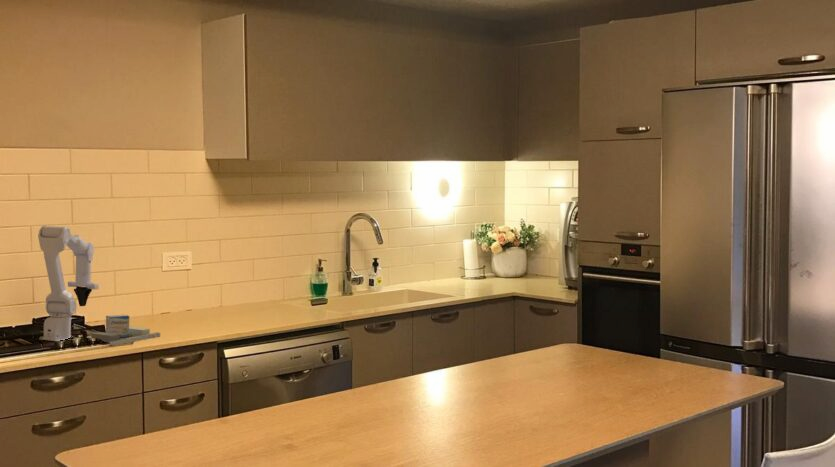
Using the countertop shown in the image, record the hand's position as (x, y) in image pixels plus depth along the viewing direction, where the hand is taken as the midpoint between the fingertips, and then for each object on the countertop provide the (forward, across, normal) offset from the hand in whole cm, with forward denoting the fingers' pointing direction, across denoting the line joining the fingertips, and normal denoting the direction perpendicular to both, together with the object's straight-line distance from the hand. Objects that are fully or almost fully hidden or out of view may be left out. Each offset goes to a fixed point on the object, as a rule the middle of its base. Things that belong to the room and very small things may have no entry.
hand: (82, 305), depth 366 cm
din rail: (+10, -31, +3) cm, 32 cm away
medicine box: (+11, -20, +2) cm, 23 cm away
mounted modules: (+10, -23, +3) cm, 25 cm away
